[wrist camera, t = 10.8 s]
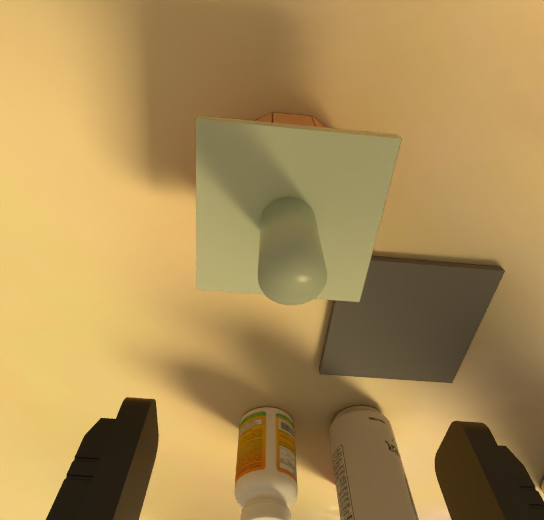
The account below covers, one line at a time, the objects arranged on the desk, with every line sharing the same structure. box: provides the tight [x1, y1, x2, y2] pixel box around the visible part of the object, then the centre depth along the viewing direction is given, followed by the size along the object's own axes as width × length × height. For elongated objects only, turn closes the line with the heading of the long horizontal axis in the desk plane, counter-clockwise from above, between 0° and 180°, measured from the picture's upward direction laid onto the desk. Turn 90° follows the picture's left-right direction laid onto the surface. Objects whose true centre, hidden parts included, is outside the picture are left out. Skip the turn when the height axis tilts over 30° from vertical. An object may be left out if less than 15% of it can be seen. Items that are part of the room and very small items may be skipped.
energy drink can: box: [329, 406, 419, 520], centre depth 33 cm, size 6×6×15 cm
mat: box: [319, 256, 505, 383], centre depth 33 cm, size 12×12×1 cm
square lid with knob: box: [196, 115, 402, 305], centre depth 20 cm, size 10×10×6 cm
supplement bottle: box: [235, 407, 297, 520], centre depth 36 cm, size 5×5×10 cm
